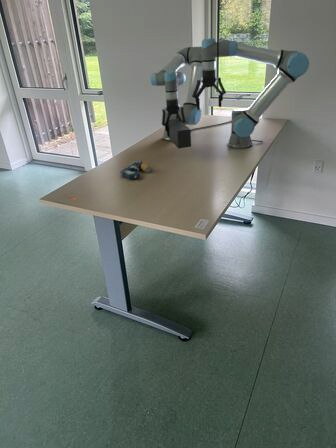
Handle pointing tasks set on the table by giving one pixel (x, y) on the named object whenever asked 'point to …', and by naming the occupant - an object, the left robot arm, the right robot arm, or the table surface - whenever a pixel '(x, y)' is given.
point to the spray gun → (135, 167)
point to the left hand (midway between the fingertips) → (174, 134)
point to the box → (179, 133)
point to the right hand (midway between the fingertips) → (209, 108)
